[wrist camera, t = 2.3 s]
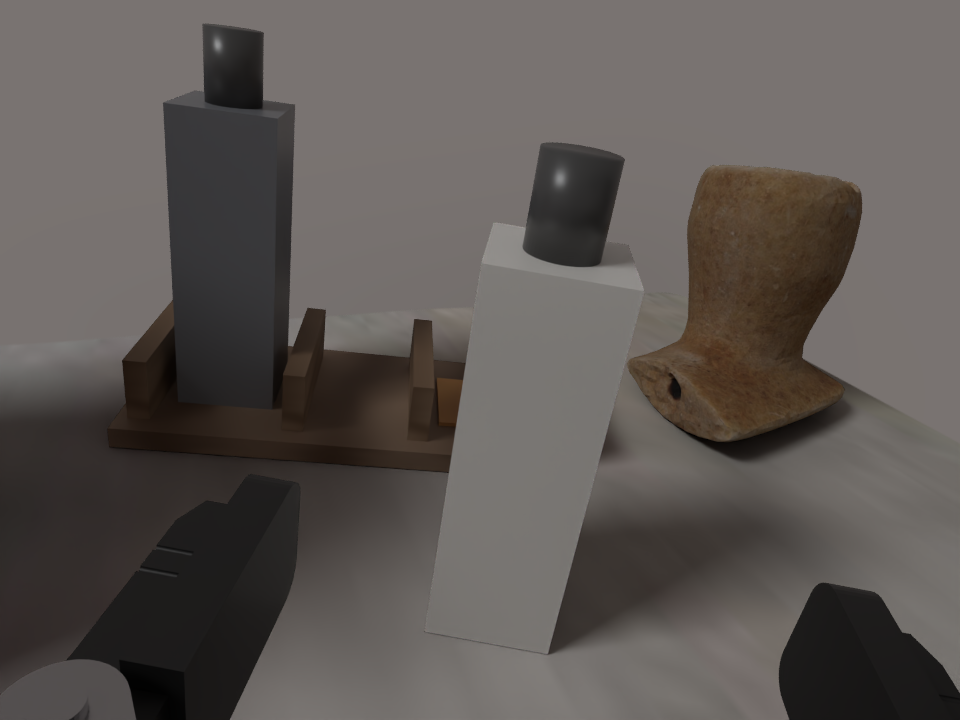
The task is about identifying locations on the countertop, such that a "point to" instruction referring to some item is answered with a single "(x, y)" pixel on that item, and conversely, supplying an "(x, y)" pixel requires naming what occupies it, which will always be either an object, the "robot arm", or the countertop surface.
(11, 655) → the countertop surface
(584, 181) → the white square bottle
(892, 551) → the countertop surface
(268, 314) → the grey square bottle
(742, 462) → the countertop surface
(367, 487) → the countertop surface
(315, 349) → the comb rack
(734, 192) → the stone cup
